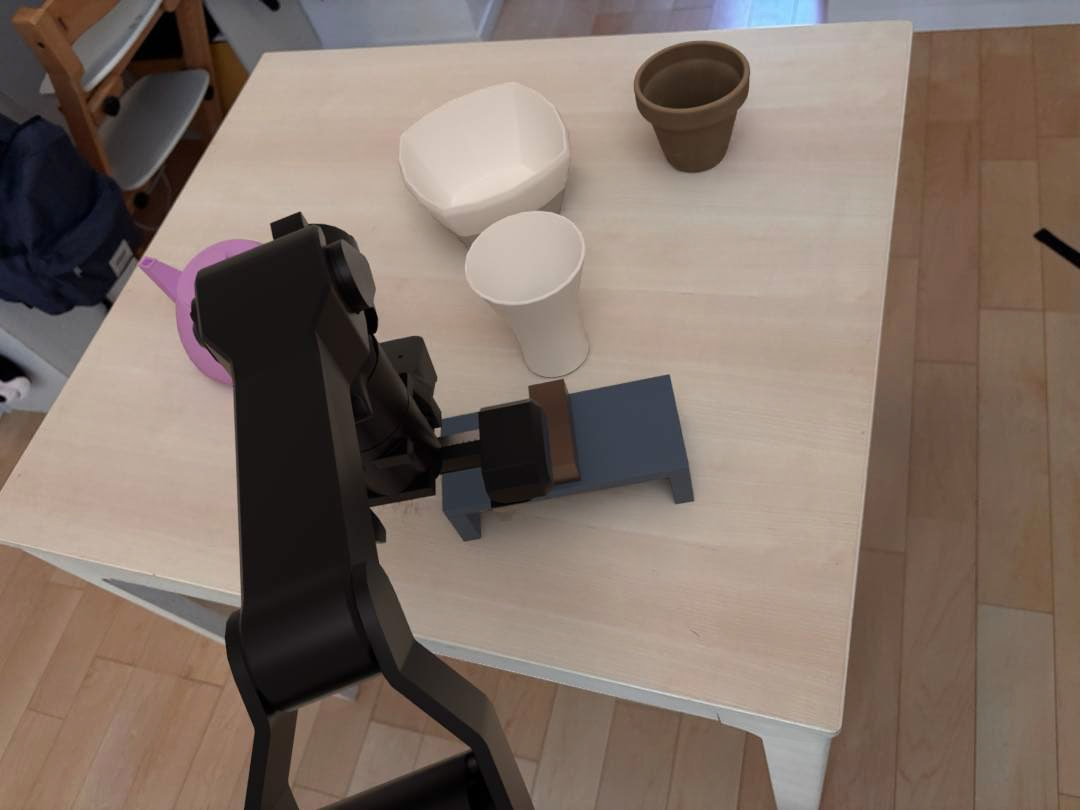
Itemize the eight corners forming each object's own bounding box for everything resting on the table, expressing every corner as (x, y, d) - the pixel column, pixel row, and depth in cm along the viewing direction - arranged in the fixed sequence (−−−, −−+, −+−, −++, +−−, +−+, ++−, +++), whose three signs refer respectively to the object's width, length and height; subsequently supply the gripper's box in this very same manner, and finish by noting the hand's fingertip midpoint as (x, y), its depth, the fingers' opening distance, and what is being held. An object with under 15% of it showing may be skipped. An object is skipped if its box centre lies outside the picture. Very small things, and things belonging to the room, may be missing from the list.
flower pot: (709, 102, 98) (703, 22, 90) (773, 151, 92) (774, 71, 84) (624, 151, 97) (611, 75, 89) (683, 205, 90) (675, 128, 82)
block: (581, 480, 69) (574, 462, 66) (544, 487, 69) (536, 469, 66) (570, 398, 73) (563, 378, 71) (535, 405, 73) (527, 385, 71)
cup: (559, 414, 80) (526, 324, 69) (482, 362, 85) (439, 270, 74) (632, 337, 83) (611, 239, 72) (552, 292, 88) (521, 194, 77)
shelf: (694, 501, 72) (689, 466, 67) (463, 541, 75) (442, 511, 70) (675, 411, 77) (669, 373, 72) (460, 452, 80) (440, 418, 75)
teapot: (385, 295, 93) (339, 215, 83) (314, 415, 86) (255, 343, 76) (227, 265, 101) (169, 189, 91) (151, 372, 94) (79, 302, 84)
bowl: (459, 295, 90) (430, 232, 83) (406, 197, 101) (376, 133, 93) (609, 221, 92) (595, 152, 84) (542, 131, 102) (523, 63, 94)
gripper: (510, 271, 53) (560, 408, 65) (226, 333, 55) (328, 454, 68) (524, 424, 46) (576, 543, 59) (203, 486, 49) (320, 587, 62)
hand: (444, 526), depth 62 cm, fingers open, 9 cm apart
